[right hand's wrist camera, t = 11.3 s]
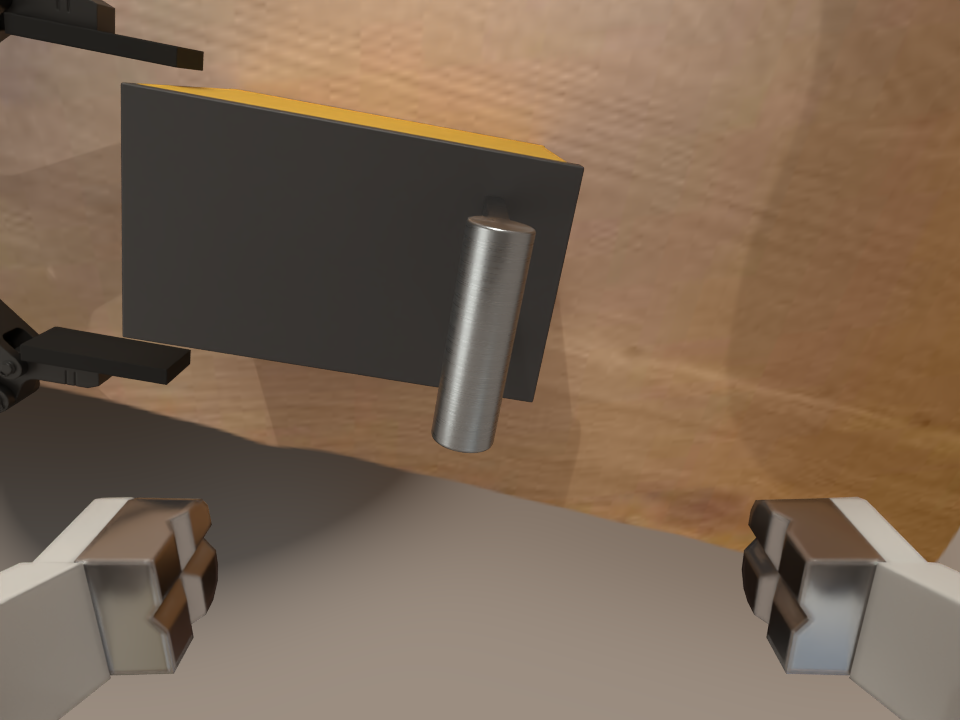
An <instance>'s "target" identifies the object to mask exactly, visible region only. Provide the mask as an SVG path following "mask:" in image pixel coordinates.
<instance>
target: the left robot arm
mask: <svg viewBox="0 0 960 720" xmlns="http://www.w3.org/2000/svg"><path fill="white" fill-rule="evenodd" d="M10 35H16V36H21V37H26V38H31V39H36V40H41V41H46V42H51V43H56V44H61V45H66V46H71V47H76V48H81V49H86V50H91V51H96V52H101V53H106V54H111V55H116V56H121V57H126V58H131V59H136V60H141V61H146V62H152V63H157V64H162V65H167V66H172V67H177V68H185V69H193V70H201V71H203V54H204V52H202V51H197V50H192V49H187V48H182V47H177V46H172V45H167V44H162V43H157V42H152V41H147V40H142V39H137V38H132V37H128V36H123V35H118V34H115V8H113V7H112V6H110V5H109V4H107V3H106V2H104V1H102V0H0V42H1V41H3V40H4V39H5V38H7V37H8V36H10ZM190 353H191V350H188V349H183V348H177V347H171V346H165V345H159V344H154V343H148V342H142V341H136V340H130V339H125V338H119V337H113V336H107V335H101V334H96V333H90V332H84V331H78V330H72V329H67V328H61V327H53V328H51V329H49V330H47V331H46V332H44V333H42V334H40V335H39V334H38V333H36V332H35V331H34V330H33V329H32V328H31V327H30V326H29V325H28V324H27V323H26V322H24V321H23V320H22V319H21V318H20V317H19V316H18V315H17V314H16V313H15V312H14V311H12V310H11V309H10V308H9V307H8V306H7V305H6V304H5V303H4V302H3V301H2V300H0V413H1V412H3V411H6V410H7V409H9V408H10V407H12V406H13V405H15V404H16V403H18V402H20V401H21V400H23V399H24V398H26V397H27V396H29V395H30V394H32V393H34V392H35V391H36V390H37V389H38V388H39V386H40V382H39V380H43V381H49V382H55V383H61V384H67V385H73V386H75V385H76V386H79V387H85V388H91V387H96V386H99V385H101V384H102V383H103V382H105V381H106V380H108V379H109V378H110V377H112V376H117V377H123V378H129V379H135V380H141V381H147V382H153V383H159V384H165V385H167V384H168V383H169V382H170V381H172V380H173V379H174V378H175V377H176V376H177V375H178V374H179V373H180V372H182V371H183V370H184V369H185V368H186V367H187V366H188V365H189V364H190Z"/></svg>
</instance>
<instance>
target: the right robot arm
mask: <svg viewBox="0 0 960 720" xmlns="http://www.w3.org/2000/svg"><path fill="white" fill-rule="evenodd" d="M211 525H212V524H211V519H210V514H209V509H208V505H207V504H206V503H205V502H204V501H203V500H202V499H177V498H132V497H115V498H100V499H95V500H94V501H93V502H92V503H91V504H90V505H89V506H88V507H87V508H86V509H85V510H84V511H83V512H82V513H81V514H80V515H79V516H78V517H77V518H76V519H75V520H74V521H73V522H72V523H71V524H70V525H69V526H68V527H67V528H66V529H65V530H64V531H63V532H62V533H61V534H60V535H59V536H58V537H57V538H56V539H55V540H54V541H53V542H52V543H51V544H50V545H49V546H48V547H47V548H46V549H45V550H44V551H43V552H42V553H41V554H40V555H39V556H38V557H37V558H36V559H35V560H34V561H33V562H31V563H19V564H17V565H15V566H12V567H10V568H8V569H6V570H4V571H1V572H0V720H59V719H60V718H61V717H63V716H64V715H65V714H66V713H68V712H69V711H70V710H72V709H73V708H74V707H75V706H77V705H78V704H79V703H80V702H82V701H83V700H84V699H85V698H87V697H88V696H89V695H90V694H92V693H93V692H94V691H95V690H97V689H98V688H99V687H101V686H102V685H103V684H104V683H106V682H107V681H108V680H109V679H110V675H139V674H173V673H174V672H175V670H176V669H177V667H178V665H179V663H180V661H181V659H182V658H183V656H184V654H185V652H186V650H187V648H188V647H189V645H190V643H191V641H192V639H193V632H192V626H191V624H192V623H194V622H195V621H197V620H198V619H200V618H201V617H203V616H204V615H206V613H207V611H208V609H209V607H210V605H211V603H212V601H213V598H214V594H215V590H216V585H217V581H218V562H217V555H216V550H215V549H214V548H213V547H212V546H211V545H210V544H209V543H208V542H207V541H206V540H205V539H204V536H205V534H206V533H207V531H208V530H209V528H210V527H211ZM748 525H749V527H750V528H751V530H752V531H753V533H754V535H755V536H756V539H755V540H754V541H753V542H752V543H751V544H750V545H749V546H748V547H747V548H746V549H745V550H744V556H743V564H742V577H743V587H744V591H745V595H746V598H747V601H748V603H749V605H750V607H751V609H752V611H753V613H754V615H756V616H757V617H759V618H760V619H762V620H763V621H765V622H766V623H768V624H769V626H768V632H767V639H768V641H769V643H770V645H771V647H772V648H773V650H774V652H775V654H776V656H777V658H778V659H779V661H780V663H781V665H782V667H783V669H784V670H785V672H786V673H787V674H821V675H850V677H849V678H850V679H851V680H852V681H854V682H855V683H856V684H857V685H859V686H860V687H861V688H862V689H864V690H865V691H866V692H867V693H869V694H870V695H871V696H872V697H874V698H875V699H876V700H877V701H879V702H880V703H881V704H882V705H884V706H885V707H886V708H887V709H889V710H890V711H891V712H893V713H894V714H895V715H896V716H898V717H899V718H900V719H901V720H960V572H959V571H956V570H954V569H952V568H950V567H948V566H945V565H943V564H941V563H929V562H927V561H926V560H925V559H924V558H923V557H922V556H921V555H920V554H919V553H918V552H917V551H916V550H915V549H914V548H913V547H912V546H911V545H910V544H909V543H908V542H907V541H906V540H905V539H904V538H903V537H902V536H901V535H900V534H899V533H898V532H897V531H896V530H895V529H894V528H893V527H892V526H891V525H890V524H889V523H888V522H887V521H886V520H885V519H884V518H883V517H882V516H881V515H880V514H879V513H878V512H877V511H876V509H875V508H874V507H873V506H872V505H871V504H870V503H869V502H868V501H867V500H864V499H862V498H859V497H843V498H818V499H778V500H755V502H754V504H753V506H752V509H751V512H750V518H749V524H748Z"/></svg>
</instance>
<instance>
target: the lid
mask: <svg viewBox="0 0 960 720" xmlns="http://www.w3.org/2000/svg"><path fill="white" fill-rule="evenodd" d="M583 172H584V167H583V166H581V165H579V164H573V163H568V162H562V161H557V160H551V159H546V158H540V157H535V156H529V155H524V154H518V153H513V152H507V151H502V150H497V149H491V148H486V147H480V146H475V145H469V144H464V143H458V142H453V141H447V140H442V139H436V138H431V137H425V136H420V135H415V134H409V133H404V132H398V131H393V130H387V129H382V128H376V127H371V126H365V125H360V124H354V123H349V122H343V121H338V120H333V119H327V118H322V117H316V116H311V115H305V114H300V113H294V112H289V111H283V110H278V109H272V108H267V107H261V106H256V105H251V104H245V103H240V102H234V101H229V100H223V99H218V98H212V97H207V96H201V95H196V94H190V93H185V92H179V91H174V90H168V89H163V88H158V87H152V86H147V85H141V84H136V83H121V175H122V314H123V337H127V338H133V339H139V340H146V341H152V342H158V343H164V344H170V345H177V346H183V347H189V348H195V349H202V350H208V351H214V352H220V353H227V354H233V355H239V356H245V357H252V358H258V359H264V360H270V361H277V362H283V363H289V364H295V365H302V366H308V367H314V368H320V369H327V370H333V371H339V372H345V373H352V374H358V375H364V376H370V377H377V378H383V379H389V380H395V381H401V382H408V383H414V384H420V385H426V386H433V387H439V389H438V395H437V401H436V407H435V413H434V419H433V425H432V431H431V433H432V437H433V439H434V440H435V441H436V442H437V443H438V444H440V445H442V446H443V447H445V448H448V449H450V450H454V451H458V452H464V453H478V452H483V451H485V450H487V449H489V448H490V447H491V446H492V444H493V441H494V437H495V432H496V427H497V422H498V417H499V412H500V407H501V402H502V398H508V399H514V400H520V401H526V402H533V399H534V394H535V390H536V385H537V381H538V376H539V372H540V367H541V363H542V358H543V353H544V349H545V344H546V340H547V335H548V331H549V326H550V322H551V317H552V313H553V308H554V304H555V299H556V294H557V290H558V285H559V281H560V276H561V272H562V267H563V263H564V258H565V254H566V249H567V245H568V240H569V235H570V231H571V226H572V222H573V217H574V213H575V208H576V204H577V199H578V195H579V190H580V186H581V181H582V176H583Z"/></svg>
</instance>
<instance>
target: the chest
mask: <svg viewBox="0 0 960 720" xmlns="http://www.w3.org/2000/svg"><path fill="white" fill-rule="evenodd" d="M137 84H138V83H137ZM141 85H147V86H152V87H158V88H163V89H168V90H174V91H179V92H185V93H190V94H196V95H201V96H207V97H212V98H218V99H223V100H229V101H234V102H240V103H245V104H251V105H256V106H261V107H267V108H272V109H278V110H283V111H289V112H294V113H300V114H305V115H311V116H316V117H322V118H327V119H333V120H338V121H343V122H349V123H354V124H360V125H365V126H371V127H376V128H382V129H387V130H393V131H398V132H404V133H409V134H415V135H420V136H425V137H431V138H436V139H442V140H447V141H453V142H458V143H464V144H469V145H475V146H480V147H486V148H491V149H497V150H502V151H507V152H513V153H518V154H524V155H529V156H535V157H540V158H546V159H551V160H557V161H562V162H566V161H564V160H563V159H561V158H560V157H558V156H557V155H555V154H553V153H552V152H550V151H549V150H547V149H546V148H545V147H544V146H542V145H537V144H531V143H526V142H520V141H515V140H510V139H504V138H499V137H493V136H488V135H482V134H477V133H472V132H466V131H461V130H455V129H450V128H444V127H439V126H433V125H428V124H423V123H417V122H412V121H406V120H401V119H395V118H390V117H385V116H379V115H374V114H368V113H363V112H357V111H352V110H347V109H341V108H336V107H330V106H325V105H319V104H314V103H309V102H303V101H298V100H292V99H287V98H281V97H276V96H270V95H265V94H260V93H254V92H249V91H243V90H238V89H218V88H202V87H186V86H170V85H154V84H141Z"/></svg>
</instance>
